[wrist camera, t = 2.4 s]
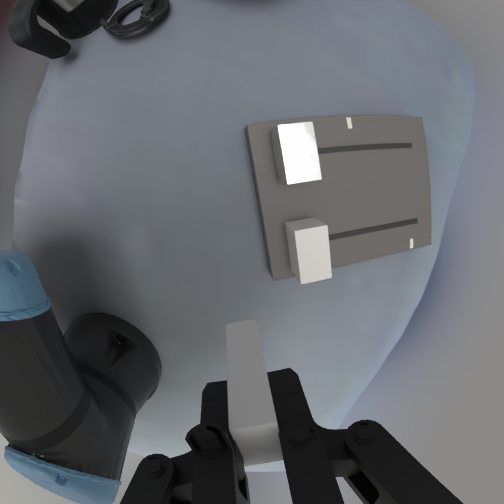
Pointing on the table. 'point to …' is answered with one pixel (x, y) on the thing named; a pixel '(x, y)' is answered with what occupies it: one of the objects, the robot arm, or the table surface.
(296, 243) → the fader
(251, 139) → the slider panel
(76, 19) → the milk frother
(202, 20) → the table surface
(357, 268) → the table surface
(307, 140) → the fader
